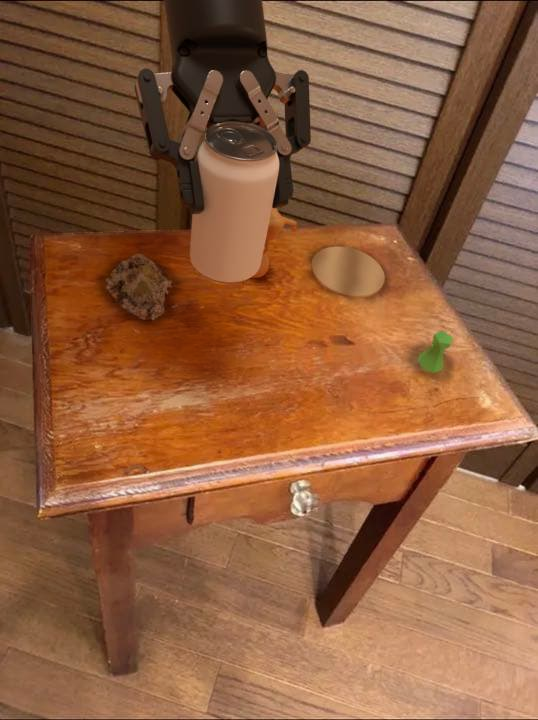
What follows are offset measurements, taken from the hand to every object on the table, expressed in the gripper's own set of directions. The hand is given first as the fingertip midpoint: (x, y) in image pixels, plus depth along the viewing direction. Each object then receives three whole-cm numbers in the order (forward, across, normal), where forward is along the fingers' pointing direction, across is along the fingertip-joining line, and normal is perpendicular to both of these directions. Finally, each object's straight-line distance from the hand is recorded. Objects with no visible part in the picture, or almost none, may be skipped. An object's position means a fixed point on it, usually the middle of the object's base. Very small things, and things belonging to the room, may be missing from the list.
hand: (240, 208), depth 47 cm
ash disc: (+7, +22, +26) cm, 35 cm away
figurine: (+5, +10, +27) cm, 29 cm away
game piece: (+19, +26, +14) cm, 34 cm away
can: (+4, 0, +6) cm, 7 cm away
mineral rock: (+6, -5, +26) cm, 27 cm away
